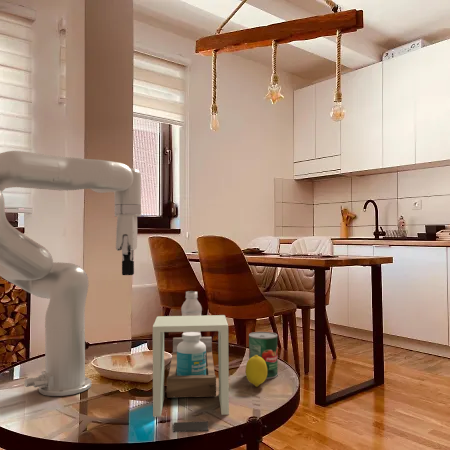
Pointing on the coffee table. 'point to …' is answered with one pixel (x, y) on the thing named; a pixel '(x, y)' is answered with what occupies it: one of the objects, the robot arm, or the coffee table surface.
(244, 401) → the coffee table surface
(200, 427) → the mat
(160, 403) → the tunnel
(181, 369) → the pill bottle
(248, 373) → the lemon
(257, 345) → the canned tomato
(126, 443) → the coffee table surface
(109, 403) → the coffee table surface
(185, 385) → the wooden compartment tray
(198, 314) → the plastic bottle
